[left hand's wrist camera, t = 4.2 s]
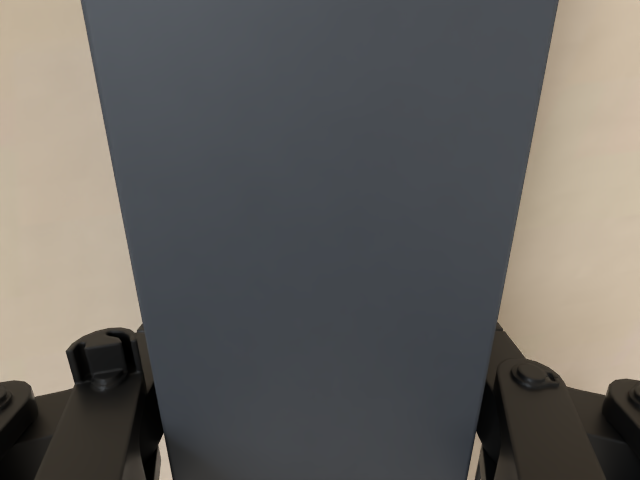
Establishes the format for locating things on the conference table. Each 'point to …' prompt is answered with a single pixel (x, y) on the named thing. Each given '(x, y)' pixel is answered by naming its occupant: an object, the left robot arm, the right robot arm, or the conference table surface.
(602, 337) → the conference table surface
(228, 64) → the post
